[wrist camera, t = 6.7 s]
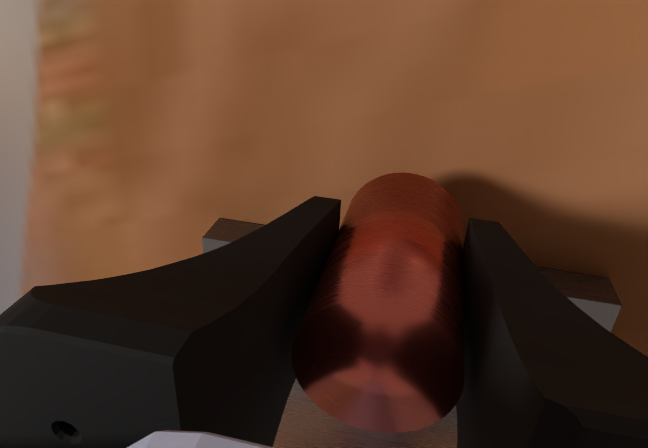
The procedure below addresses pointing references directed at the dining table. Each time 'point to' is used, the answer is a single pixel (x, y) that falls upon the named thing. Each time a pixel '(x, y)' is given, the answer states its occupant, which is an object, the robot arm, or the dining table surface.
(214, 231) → the bench
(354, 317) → the ram handle
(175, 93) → the dining table surface
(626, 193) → the dining table surface
